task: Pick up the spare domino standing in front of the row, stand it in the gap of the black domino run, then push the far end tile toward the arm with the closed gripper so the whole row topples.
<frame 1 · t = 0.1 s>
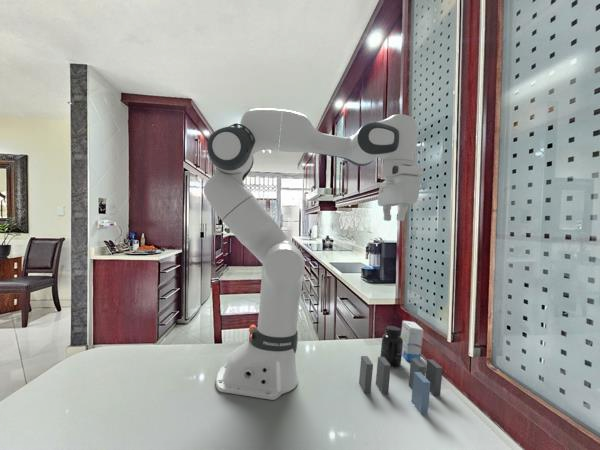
hand: (393, 220, 84), 48 cm above the table, tool pointing down, fingers open, 8 cm apart
domino a: (364, 388, 82), on the table
domino e: (432, 391, 84), on the table
domino b: (381, 388, 83), on the table
supplement bottle: (390, 363, 99), on the table
domino d: (415, 390, 83), on the table
spare domino: (419, 407, 75), on the table
ink box: (409, 357, 106), on the table
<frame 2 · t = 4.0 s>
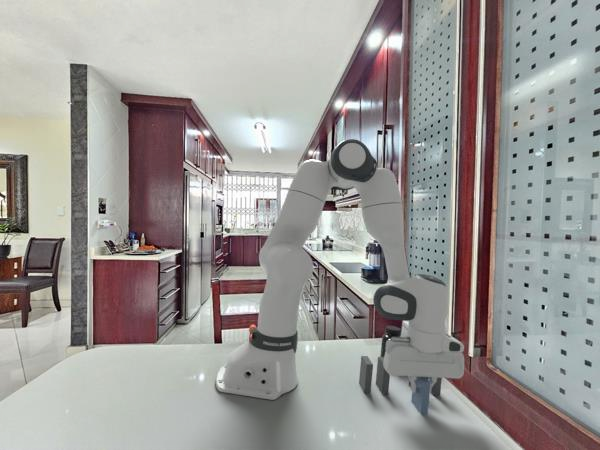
hand: (420, 391, 75), 4 cm above the table, tool pointing down, fingers closed on spare domino, 2 cm apart
spare domino: (419, 407, 75), on the table, touching gripper
everything else where it was.
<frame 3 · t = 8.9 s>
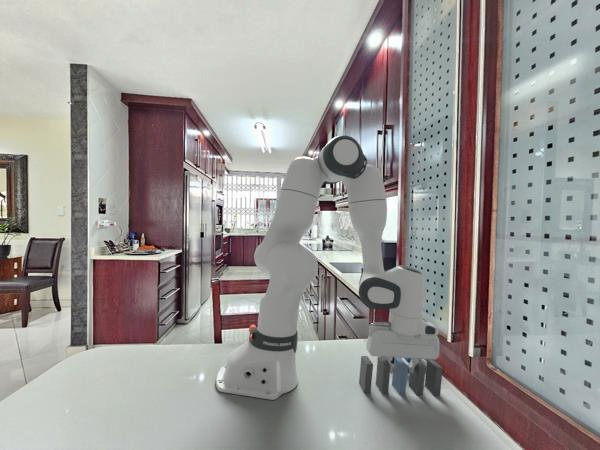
hand: (400, 371, 83), 5 cm above the table, tool pointing down, fingers open, 4 cm apart
domino b: (381, 388, 83), on the table, touching gripper
spare domino: (398, 389, 83), on the table
everything else where it was.
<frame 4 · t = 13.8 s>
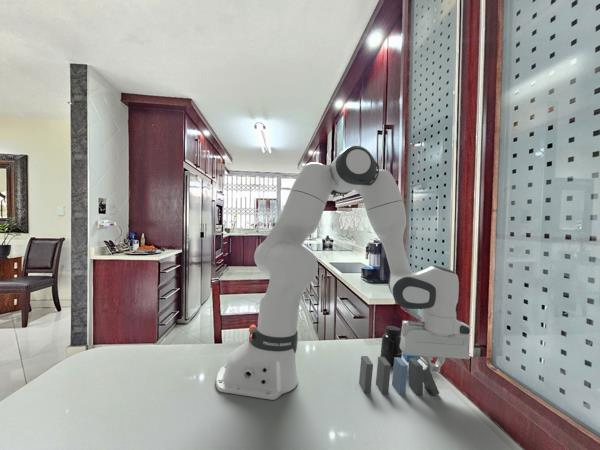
hand: (433, 370, 84), 6 cm above the table, tool pointing down, fingers closed
domino e: (431, 389, 84), on the table, tilted 29°
domino b: (381, 388, 83), on the table
domino d: (415, 390, 83), on the table, tilted 5°
everything else where it was.
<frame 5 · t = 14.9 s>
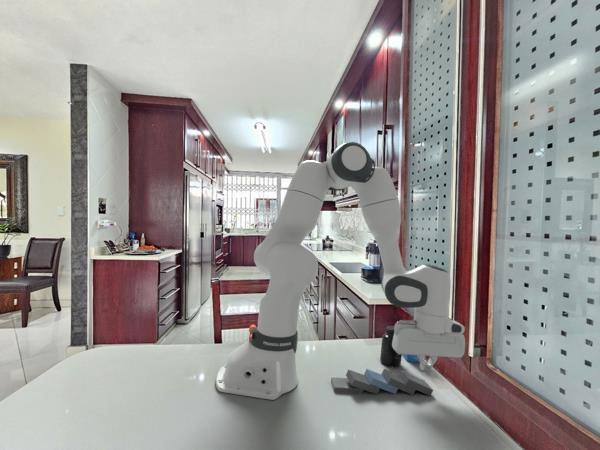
hand: (425, 369, 84), 6 cm above the table, tool pointing down, fingers closed
domino a: (360, 386, 82), on the table, tilted 90°
domino e: (427, 388, 84), point 1 cm above the table, tilted 69°, touching domino d
domino b: (374, 385, 82), point 1 cm above the table, tilted 72°
domino d: (410, 387, 83), point 1 cm above the table, tilted 69°, touching domino e, spare domino
spare domino: (392, 385, 83), point 1 cm above the table, tilted 70°, touching domino d
everything else where it was.
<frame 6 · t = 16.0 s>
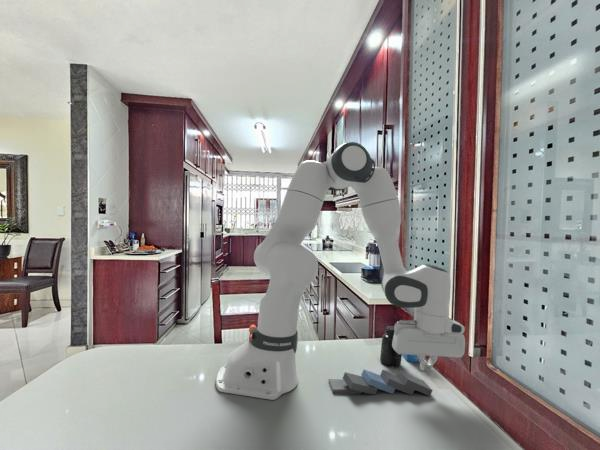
hand: (425, 369, 84), 6 cm above the table, tool pointing down, fingers closed
domino a: (358, 387, 82), on the table, tilted 90°, touching domino b
domino b: (371, 386, 82), point 1 cm above the table, tilted 74°, touching domino a, spare domino
spare domino: (389, 385, 83), point 1 cm above the table, tilted 70°, touching domino b, domino d
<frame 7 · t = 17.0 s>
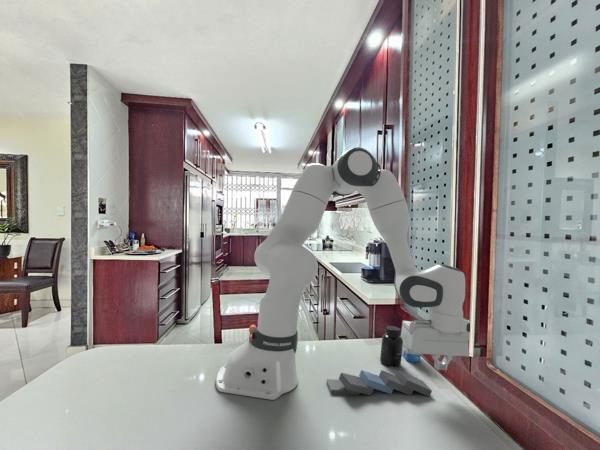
hand: (440, 368, 84), 6 cm above the table, tool pointing down, fingers closed
domino b: (367, 386, 81), point 1 cm above the table, tilted 72°, touching domino a, spare domino
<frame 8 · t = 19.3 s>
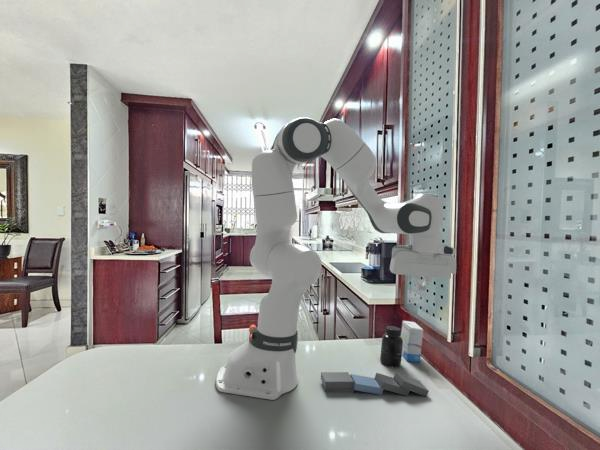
hand: (420, 290, 91), 27 cm above the table, tool pointing down, fingers closed
domino a: (351, 387, 82), on the table, tilted 90°, touching domino b
domino e: (422, 388, 83), point 1 cm above the table, tilted 71°, touching domino d
domino b: (350, 379, 82), point 2 cm above the table, tilted 90°, touching domino a
domino d: (404, 387, 83), point 1 cm above the table, tilted 75°, touching domino e, spare domino
spare domino: (379, 386, 82), point 1 cm above the table, tilted 82°, touching domino d
everything else where it was.
at the end: domino a tilted 90°; spare domino tilted 81° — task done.
